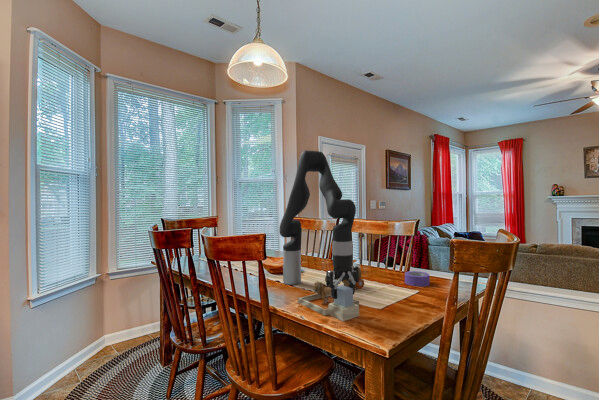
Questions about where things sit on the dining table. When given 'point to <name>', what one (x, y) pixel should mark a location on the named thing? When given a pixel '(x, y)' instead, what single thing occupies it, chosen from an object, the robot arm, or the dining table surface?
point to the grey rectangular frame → (332, 308)
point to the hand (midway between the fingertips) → (343, 296)
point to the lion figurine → (322, 290)
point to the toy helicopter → (358, 284)
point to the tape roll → (417, 278)
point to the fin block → (344, 296)
